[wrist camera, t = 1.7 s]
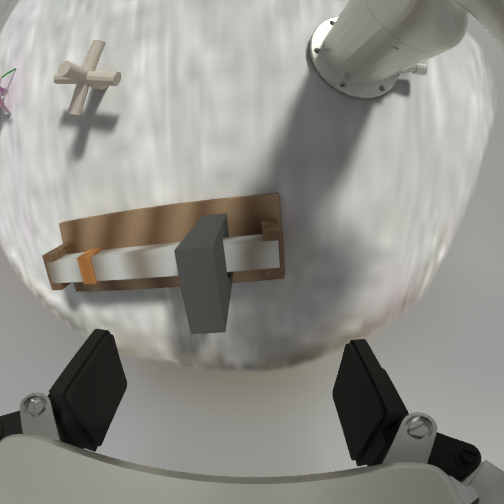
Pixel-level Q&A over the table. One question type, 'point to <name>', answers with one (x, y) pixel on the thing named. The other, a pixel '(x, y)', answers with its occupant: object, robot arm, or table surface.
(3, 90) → the lily
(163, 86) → the table surface
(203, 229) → the dark grey tapered slab
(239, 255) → the pipe stand
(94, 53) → the pipe connector
